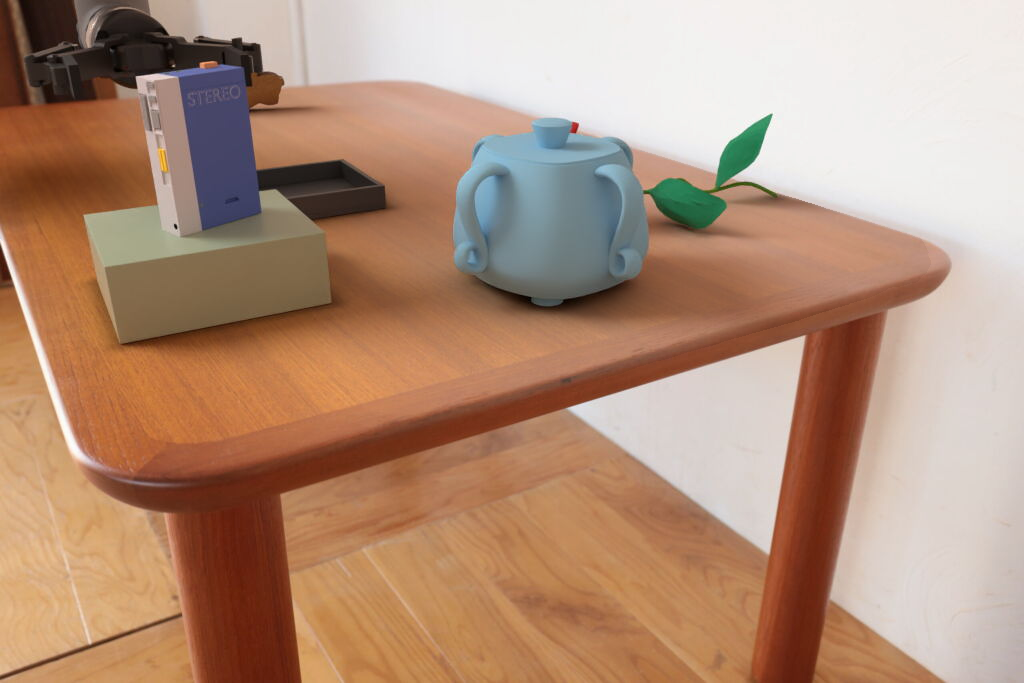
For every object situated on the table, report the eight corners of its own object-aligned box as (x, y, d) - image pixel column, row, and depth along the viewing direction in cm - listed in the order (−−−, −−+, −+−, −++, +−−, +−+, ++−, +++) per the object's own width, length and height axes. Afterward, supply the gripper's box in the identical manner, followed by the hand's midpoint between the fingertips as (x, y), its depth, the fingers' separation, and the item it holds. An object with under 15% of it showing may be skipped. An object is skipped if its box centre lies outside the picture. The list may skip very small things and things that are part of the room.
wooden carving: (283, 104, 149) (276, 41, 144) (288, 109, 145) (282, 45, 141) (179, 112, 143) (169, 47, 138) (182, 118, 139) (171, 50, 135)
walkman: (240, 207, 75) (220, 59, 70) (262, 213, 74) (243, 62, 69) (158, 230, 70) (130, 71, 65) (179, 237, 68) (152, 75, 63)
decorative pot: (430, 309, 71) (423, 138, 65) (476, 243, 85) (474, 97, 79) (637, 326, 68) (648, 148, 62) (649, 254, 82) (659, 104, 77)
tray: (232, 194, 100) (229, 172, 99) (345, 179, 106) (343, 158, 105) (263, 226, 90) (260, 202, 89) (386, 208, 96) (385, 185, 95)
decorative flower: (833, 230, 89) (849, 132, 85) (547, 253, 83) (549, 148, 79) (765, 191, 102) (777, 104, 97) (512, 208, 95) (512, 116, 91)
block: (97, 282, 76) (83, 214, 74) (283, 252, 83) (275, 188, 81) (120, 344, 65) (104, 267, 62) (331, 303, 72) (325, 232, 70)
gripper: (255, 75, 99) (313, 108, 82) (2, 93, 88) (8, 136, 71) (247, 3, 96) (306, 22, 79) (-17, 12, 85) (-15, 37, 68)
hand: (164, 76), depth 75 cm, fingers open, 13 cm apart
